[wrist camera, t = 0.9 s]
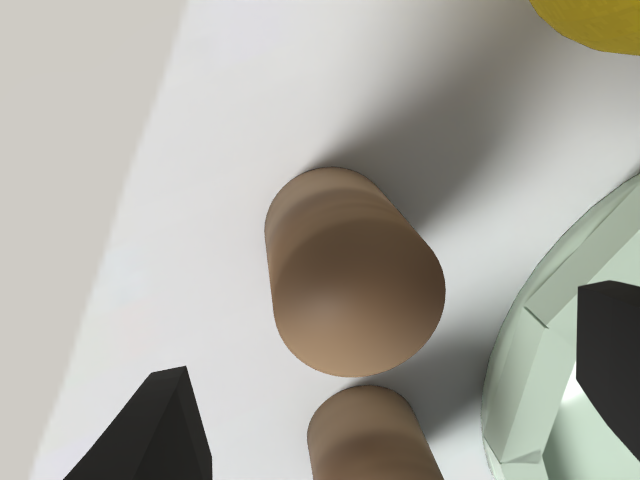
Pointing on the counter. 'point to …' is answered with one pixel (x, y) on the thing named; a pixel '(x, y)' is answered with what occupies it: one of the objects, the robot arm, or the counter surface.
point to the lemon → (595, 22)
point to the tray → (559, 357)
